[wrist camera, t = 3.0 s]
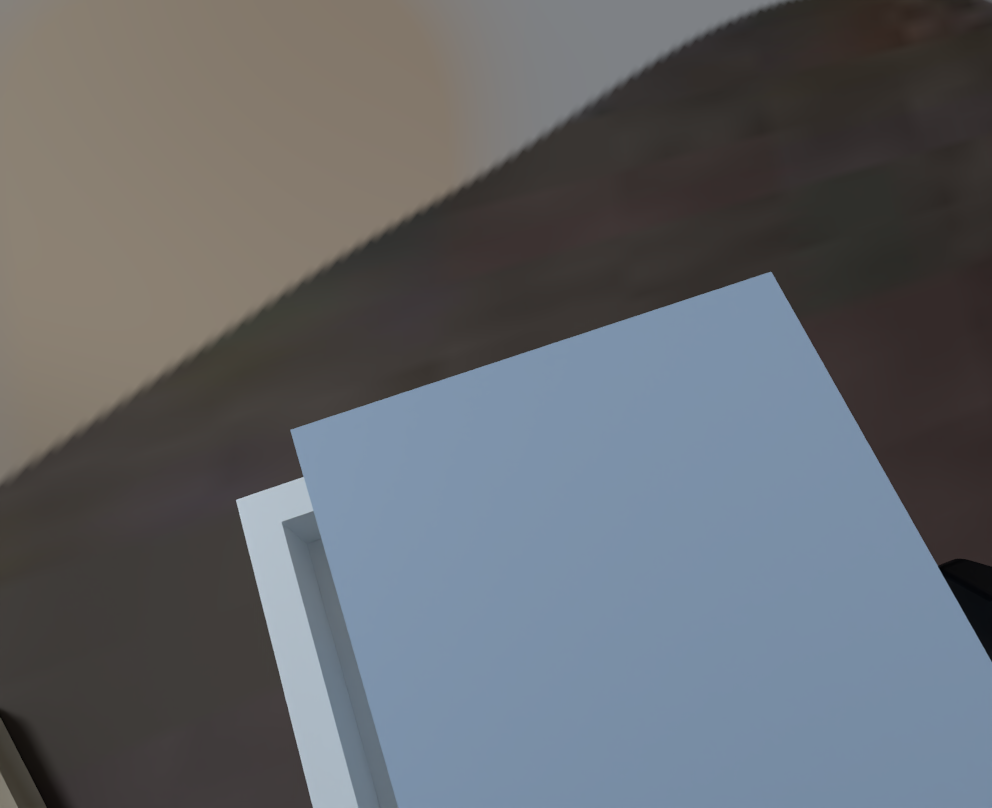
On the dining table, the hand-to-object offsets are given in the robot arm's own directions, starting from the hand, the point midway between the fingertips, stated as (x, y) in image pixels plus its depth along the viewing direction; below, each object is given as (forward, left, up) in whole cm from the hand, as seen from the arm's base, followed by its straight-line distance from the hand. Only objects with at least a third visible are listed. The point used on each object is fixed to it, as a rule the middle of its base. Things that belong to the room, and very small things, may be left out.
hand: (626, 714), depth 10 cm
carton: (+1, -1, -8) cm, 8 cm away
